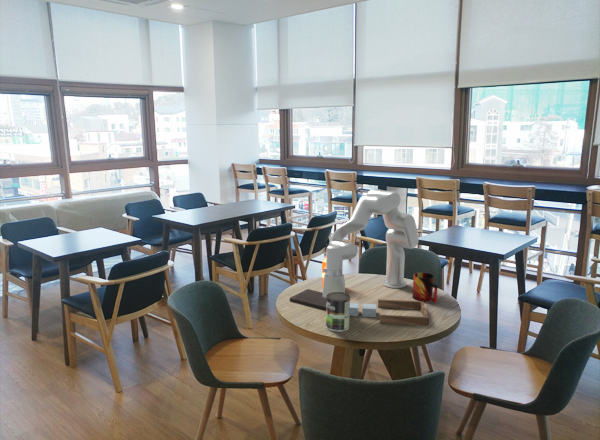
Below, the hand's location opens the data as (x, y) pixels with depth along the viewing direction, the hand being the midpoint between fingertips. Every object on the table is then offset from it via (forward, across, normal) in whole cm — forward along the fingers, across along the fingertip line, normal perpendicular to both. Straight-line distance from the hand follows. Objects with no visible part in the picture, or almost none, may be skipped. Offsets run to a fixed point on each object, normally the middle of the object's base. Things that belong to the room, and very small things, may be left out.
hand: (333, 309), depth 219 cm
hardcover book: (+2, -8, +13) cm, 16 cm away
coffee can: (+2, +2, -16) cm, 16 cm away
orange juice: (+2, -2, +35) cm, 35 cm away
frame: (+1, +32, 0) cm, 32 cm away
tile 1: (+2, +8, 0) cm, 9 cm away
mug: (+2, +46, +23) cm, 51 cm away
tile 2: (+2, +16, 0) cm, 17 cm away
